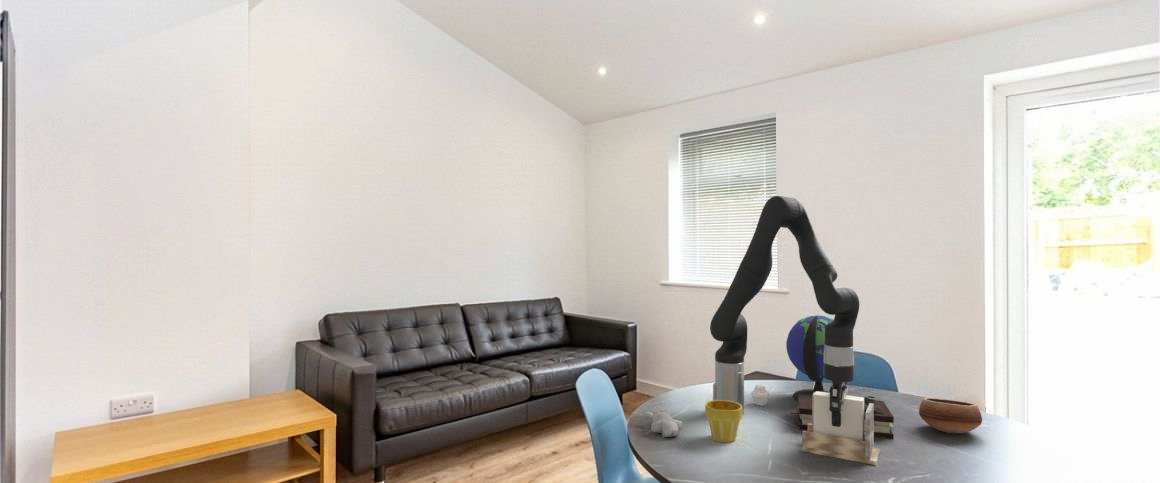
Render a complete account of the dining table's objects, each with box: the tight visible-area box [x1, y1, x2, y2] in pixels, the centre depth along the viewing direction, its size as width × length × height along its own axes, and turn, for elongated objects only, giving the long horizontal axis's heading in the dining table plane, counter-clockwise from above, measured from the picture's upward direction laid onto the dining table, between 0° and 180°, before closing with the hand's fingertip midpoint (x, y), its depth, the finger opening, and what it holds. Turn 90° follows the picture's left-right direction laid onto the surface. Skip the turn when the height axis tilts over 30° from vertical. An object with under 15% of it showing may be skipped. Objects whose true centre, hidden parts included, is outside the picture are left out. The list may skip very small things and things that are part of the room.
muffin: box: [750, 384, 771, 407], centre depth 195 cm, size 6×6×7 cm
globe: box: [785, 314, 834, 402], centre depth 202 cm, size 22×22×30 cm
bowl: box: [918, 397, 983, 434], centre depth 167 cm, size 16×16×10 cm
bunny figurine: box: [643, 409, 683, 438], centre depth 170 cm, size 10×5×15 cm
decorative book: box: [790, 394, 896, 440], centre depth 174 cm, size 19×8×30 cm
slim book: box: [812, 391, 864, 441], centre depth 153 cm, size 12×4×14 cm, turn 57°
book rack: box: [801, 403, 881, 466], centre depth 152 cm, size 18×10×13 cm, turn 57°
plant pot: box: [704, 399, 743, 443], centre depth 163 cm, size 10×10×10 cm
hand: (838, 421), depth 152 cm, fingers open, 8 cm apart
